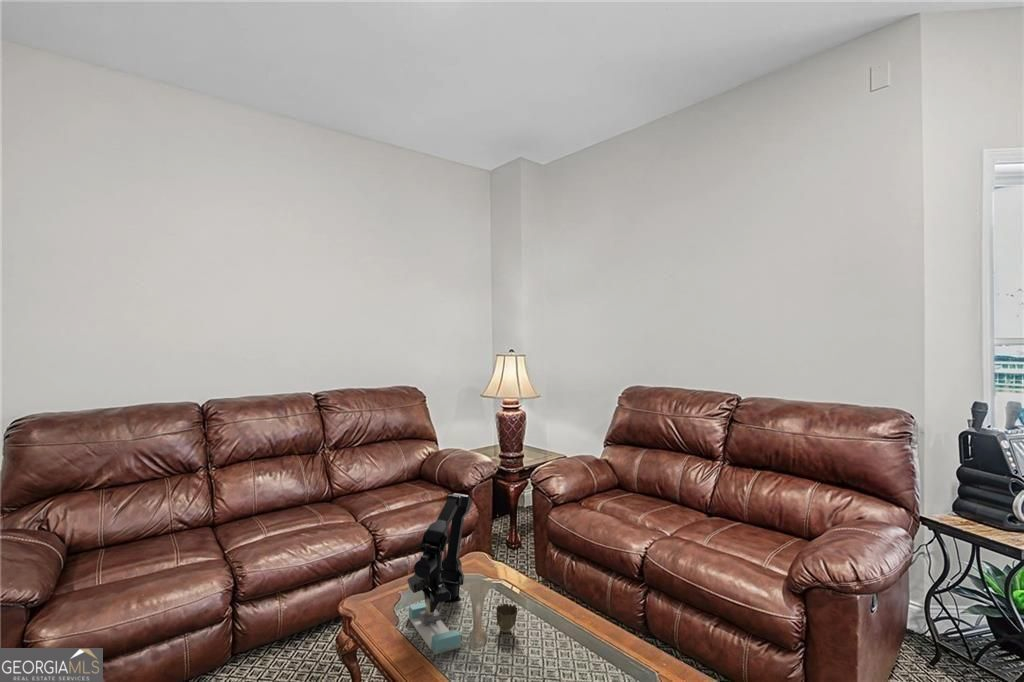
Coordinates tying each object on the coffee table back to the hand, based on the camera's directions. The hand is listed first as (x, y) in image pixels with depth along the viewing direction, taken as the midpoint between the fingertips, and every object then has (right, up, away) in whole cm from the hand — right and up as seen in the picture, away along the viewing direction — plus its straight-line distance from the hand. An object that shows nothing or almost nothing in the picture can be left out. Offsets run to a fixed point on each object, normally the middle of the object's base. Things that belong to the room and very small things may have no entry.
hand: (429, 609), depth 182 cm
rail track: (+2, -6, -3) cm, 7 cm away
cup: (+26, -8, +1) cm, 27 cm away
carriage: (0, -4, 0) cm, 4 cm away
